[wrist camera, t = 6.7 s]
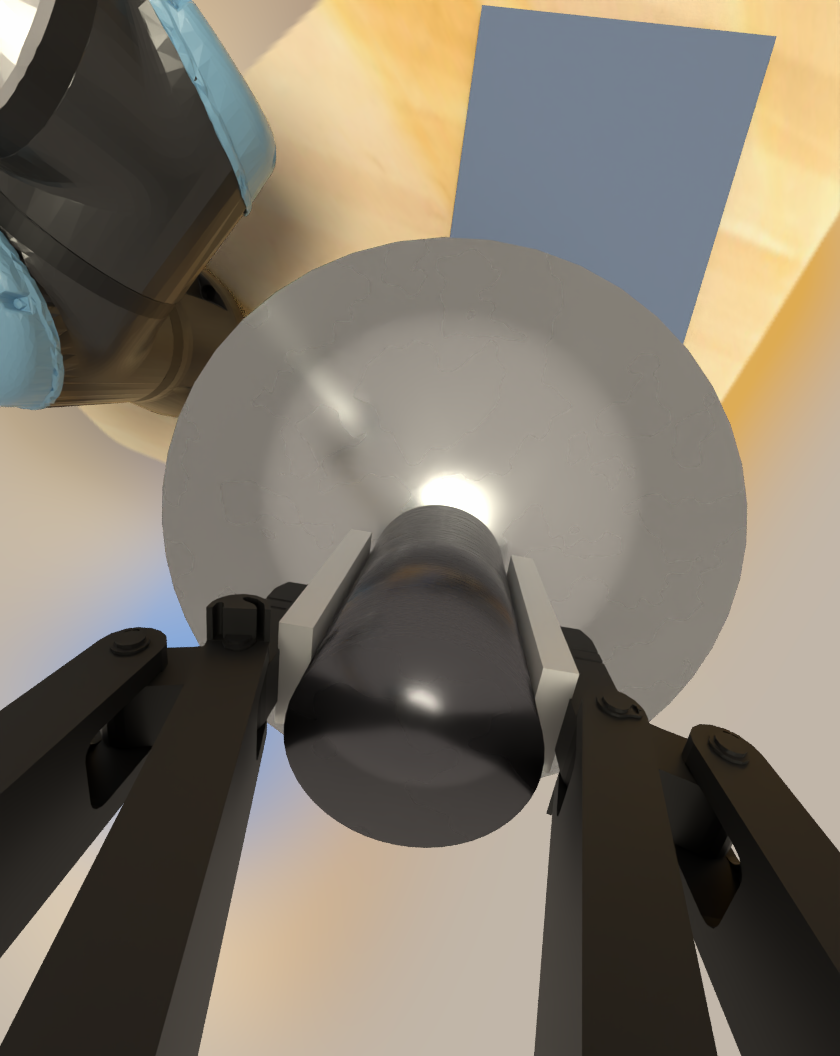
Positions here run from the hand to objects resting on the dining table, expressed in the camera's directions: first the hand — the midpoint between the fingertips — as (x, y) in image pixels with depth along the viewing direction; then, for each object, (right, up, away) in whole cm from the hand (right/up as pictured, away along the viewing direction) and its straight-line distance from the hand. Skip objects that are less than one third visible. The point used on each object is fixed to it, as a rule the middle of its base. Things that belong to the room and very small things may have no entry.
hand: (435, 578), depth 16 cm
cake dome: (+1, +5, +14) cm, 15 cm away
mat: (+14, +31, +23) cm, 41 cm away
